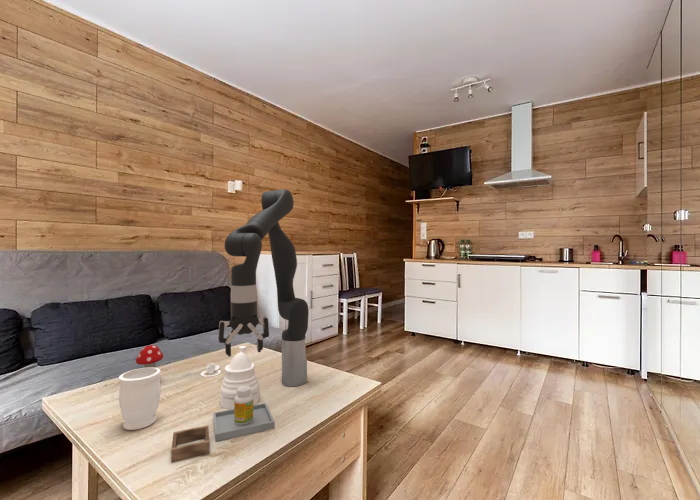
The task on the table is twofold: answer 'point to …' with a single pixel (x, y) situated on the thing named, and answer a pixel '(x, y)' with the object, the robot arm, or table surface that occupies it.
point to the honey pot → (239, 379)
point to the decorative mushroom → (149, 356)
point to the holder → (190, 449)
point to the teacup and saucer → (211, 369)
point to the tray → (230, 429)
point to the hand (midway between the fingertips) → (244, 353)
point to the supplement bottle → (243, 406)
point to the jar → (139, 397)
